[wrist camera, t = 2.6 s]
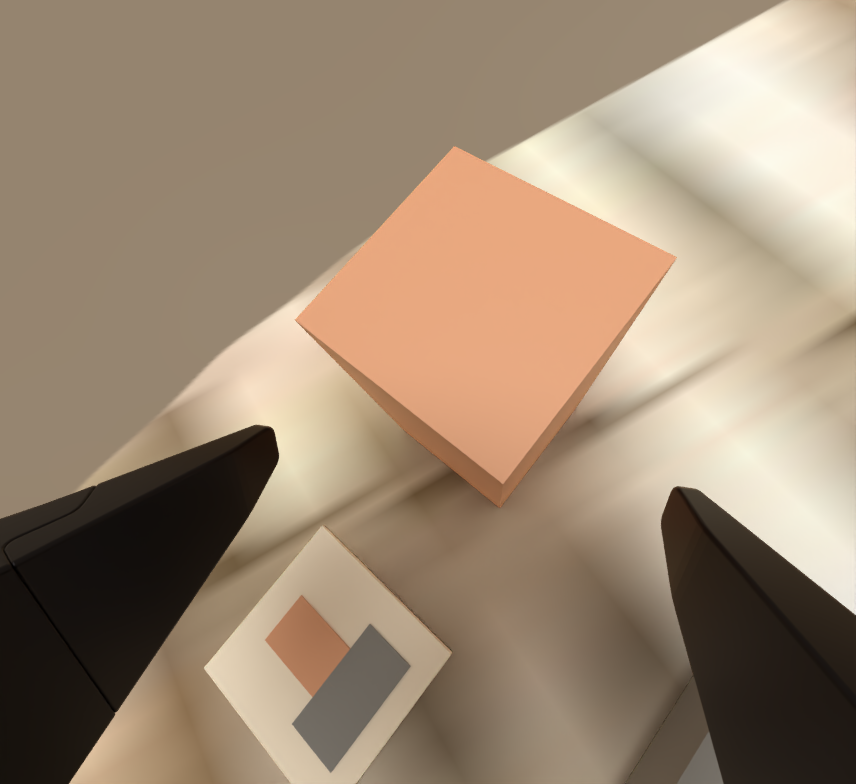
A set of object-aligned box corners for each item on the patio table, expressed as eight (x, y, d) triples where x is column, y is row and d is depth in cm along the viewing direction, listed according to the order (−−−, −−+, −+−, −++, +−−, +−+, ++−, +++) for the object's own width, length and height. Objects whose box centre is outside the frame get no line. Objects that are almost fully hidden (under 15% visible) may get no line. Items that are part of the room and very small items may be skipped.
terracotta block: (499, 508, 19) (503, 484, 8) (403, 430, 21) (294, 319, 10) (575, 408, 20) (676, 257, 9) (476, 341, 22) (454, 145, 11)
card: (326, 822, 17) (322, 829, 16) (208, 665, 19) (202, 668, 19) (452, 652, 18) (451, 654, 17) (324, 525, 20) (320, 525, 20)
